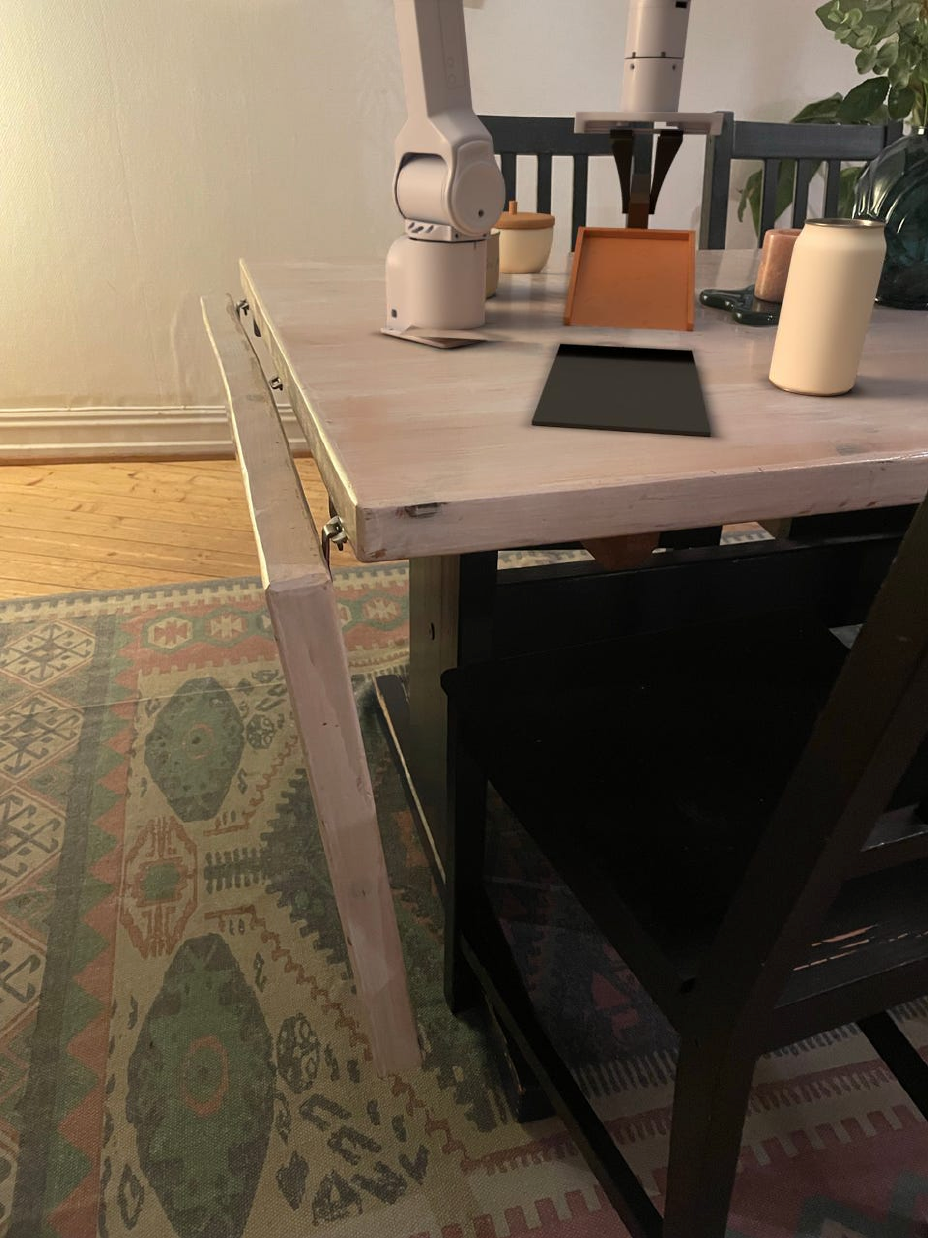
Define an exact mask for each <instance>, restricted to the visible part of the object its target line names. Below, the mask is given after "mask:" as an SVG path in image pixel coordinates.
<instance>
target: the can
mask: <svg viewBox="0 0 928 1238" xmlns="http://www.w3.org/2000/svg"><path fill="white" fill-rule="evenodd" d="M803 222H804V226H803V228H802V230H801V231H800V233H799V235H798V236H797V238H796V239H795V242H794V244H793V248H792V252H791V258H790V263H789V269H788V272H787V273H788V275H787V279H786V284H785V289H784V294H783V300H782V305H781V310H780V315H779V319H778V320H779V321H778V325H777V331H776V335H775V342H774V347H773V352H772V357H771V363H770V369H769V375H768V378H769V380H770V381H771V384H772V386H774V387H776V388H777V389H780V390H783V391H785V392H790V393H794V394H799V395H807V396H816V397H818V396H819V397H827V396H828V397H832V396H840V395H844V394H847V393H848V392H849V390H850V389H852V388H854V386H855V383H856V378H857V375H858V371H859V366H860V363H861V359H862V354H863V350H864V347H865V342H866V337H867V334H868V330H869V327H870V326H869V325H870V322H871V318H872V313H873V310H874V306H875V305H874V304H875V301H876V298H877V297H876V296H877V292H878V287H879V283H880V279H881V276H882V271H883V266H884V264H885V263H884V262H885V258H886V254H887V242H886V237H885V228H886V226H887V224H886V223H885V222H882V221H877V220H869V219H859V218H841V217H840V218H839V217H836V218H835V217H815V218H805V219H804V221H803Z"/></svg>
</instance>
